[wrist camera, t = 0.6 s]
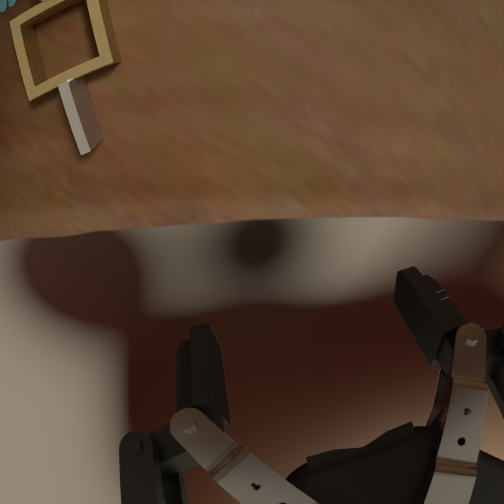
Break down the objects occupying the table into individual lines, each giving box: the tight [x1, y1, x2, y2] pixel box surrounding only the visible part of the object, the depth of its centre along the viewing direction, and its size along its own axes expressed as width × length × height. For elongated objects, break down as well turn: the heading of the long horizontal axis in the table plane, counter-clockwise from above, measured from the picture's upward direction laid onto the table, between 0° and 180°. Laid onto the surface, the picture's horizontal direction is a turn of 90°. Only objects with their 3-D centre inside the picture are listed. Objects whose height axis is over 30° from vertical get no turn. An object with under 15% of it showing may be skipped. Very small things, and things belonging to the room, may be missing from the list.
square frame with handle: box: [10, 0, 122, 155], centre depth 23 cm, size 26×10×5 cm, turn 10°
